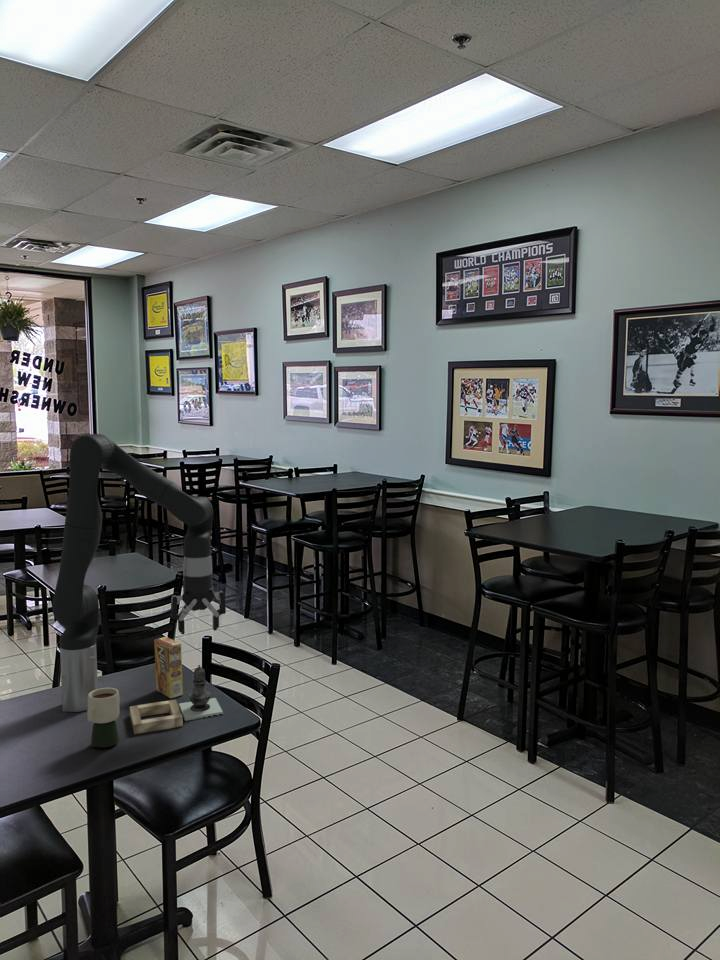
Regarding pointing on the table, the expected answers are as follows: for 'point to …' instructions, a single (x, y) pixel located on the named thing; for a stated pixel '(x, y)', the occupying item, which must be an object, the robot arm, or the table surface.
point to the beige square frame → (155, 723)
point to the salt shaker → (199, 692)
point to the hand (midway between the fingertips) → (198, 631)
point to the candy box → (168, 667)
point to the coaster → (191, 715)
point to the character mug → (103, 716)
